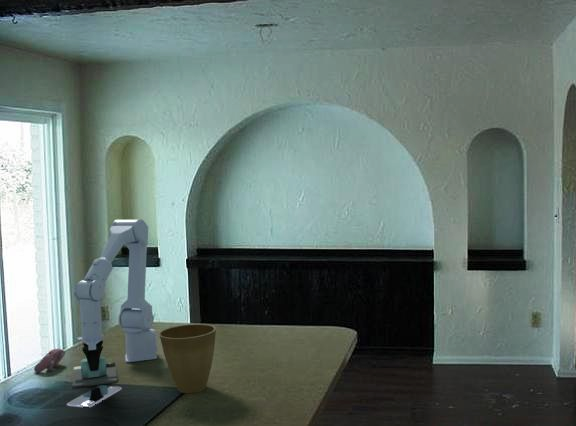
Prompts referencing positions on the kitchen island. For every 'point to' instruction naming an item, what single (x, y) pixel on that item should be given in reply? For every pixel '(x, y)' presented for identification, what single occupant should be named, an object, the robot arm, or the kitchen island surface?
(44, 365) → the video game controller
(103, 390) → the mobile phone
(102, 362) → the plug
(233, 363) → the kitchen island surface
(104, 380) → the pad
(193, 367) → the plant pot
